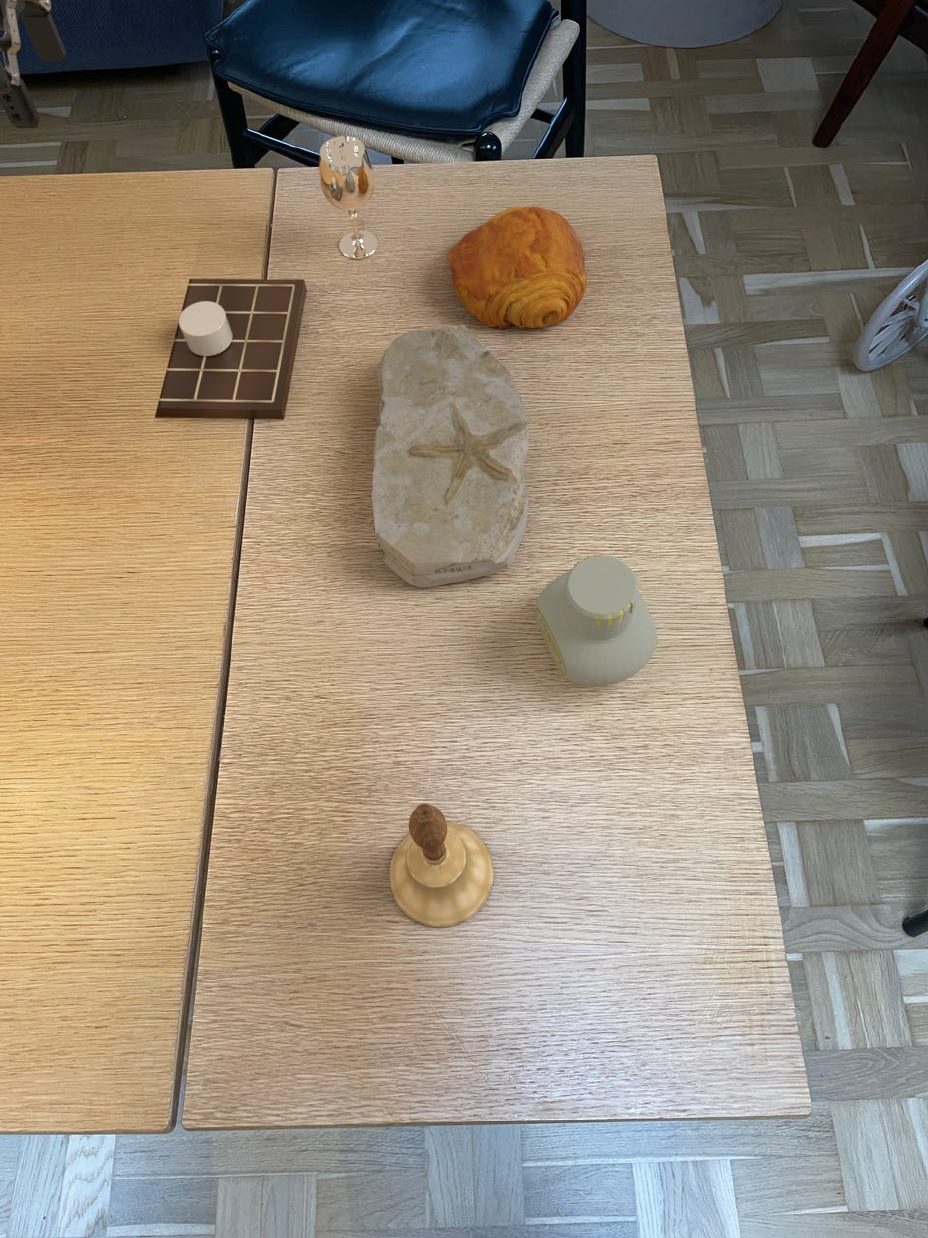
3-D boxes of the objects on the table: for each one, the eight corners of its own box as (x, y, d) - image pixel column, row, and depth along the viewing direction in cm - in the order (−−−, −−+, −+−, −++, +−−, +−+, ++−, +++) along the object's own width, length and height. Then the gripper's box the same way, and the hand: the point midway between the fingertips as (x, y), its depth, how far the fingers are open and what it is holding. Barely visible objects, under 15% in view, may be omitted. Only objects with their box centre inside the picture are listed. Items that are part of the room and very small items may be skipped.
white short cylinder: (183, 356, 102) (174, 335, 99) (191, 321, 104) (183, 300, 102) (228, 356, 102) (221, 335, 99) (236, 322, 104) (228, 300, 101)
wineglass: (366, 269, 109) (350, 176, 98) (323, 252, 110) (303, 158, 100) (393, 236, 111) (381, 142, 101) (351, 220, 113) (334, 125, 102)
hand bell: (367, 878, 78) (335, 822, 64) (438, 801, 80) (422, 731, 66) (444, 950, 75) (429, 908, 61) (515, 868, 78) (516, 810, 64)
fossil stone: (383, 357, 103) (377, 320, 98) (523, 353, 102) (524, 315, 98) (372, 589, 90) (364, 559, 85) (532, 586, 89) (533, 556, 85)
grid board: (111, 416, 101) (105, 406, 99) (147, 288, 109) (142, 277, 108) (284, 419, 100) (280, 409, 98) (306, 289, 108) (304, 278, 106)
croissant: (567, 245, 112) (571, 178, 106) (595, 331, 103) (601, 264, 97) (442, 258, 112) (438, 192, 105) (459, 346, 102) (456, 279, 96)
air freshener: (525, 606, 88) (526, 547, 80) (608, 575, 90) (619, 514, 81) (574, 710, 84) (582, 660, 75) (662, 676, 85) (680, 624, 76)
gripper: (-81, -186, 70) (20, 38, 84) (-150, -74, 63) (-28, 149, 78) (21, -188, 69) (105, 38, 84) (-37, -76, 63) (64, 149, 77)
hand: (41, 91), depth 81 cm, fingers open, 8 cm apart
